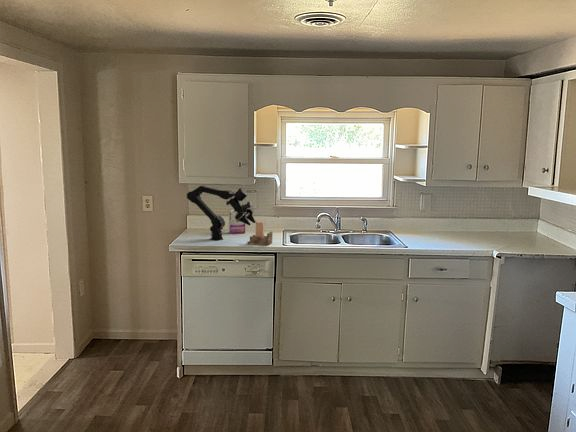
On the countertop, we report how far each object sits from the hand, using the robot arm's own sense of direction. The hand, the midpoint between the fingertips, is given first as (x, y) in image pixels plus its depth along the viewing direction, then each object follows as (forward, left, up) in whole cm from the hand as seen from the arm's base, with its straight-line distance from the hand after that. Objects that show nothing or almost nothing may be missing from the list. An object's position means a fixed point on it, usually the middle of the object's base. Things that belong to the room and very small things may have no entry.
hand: (252, 223), depth 308 cm
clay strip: (+5, +1, -11) cm, 12 cm away
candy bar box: (-28, +18, -13) cm, 36 cm away
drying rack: (+5, +1, -12) cm, 13 cm away
